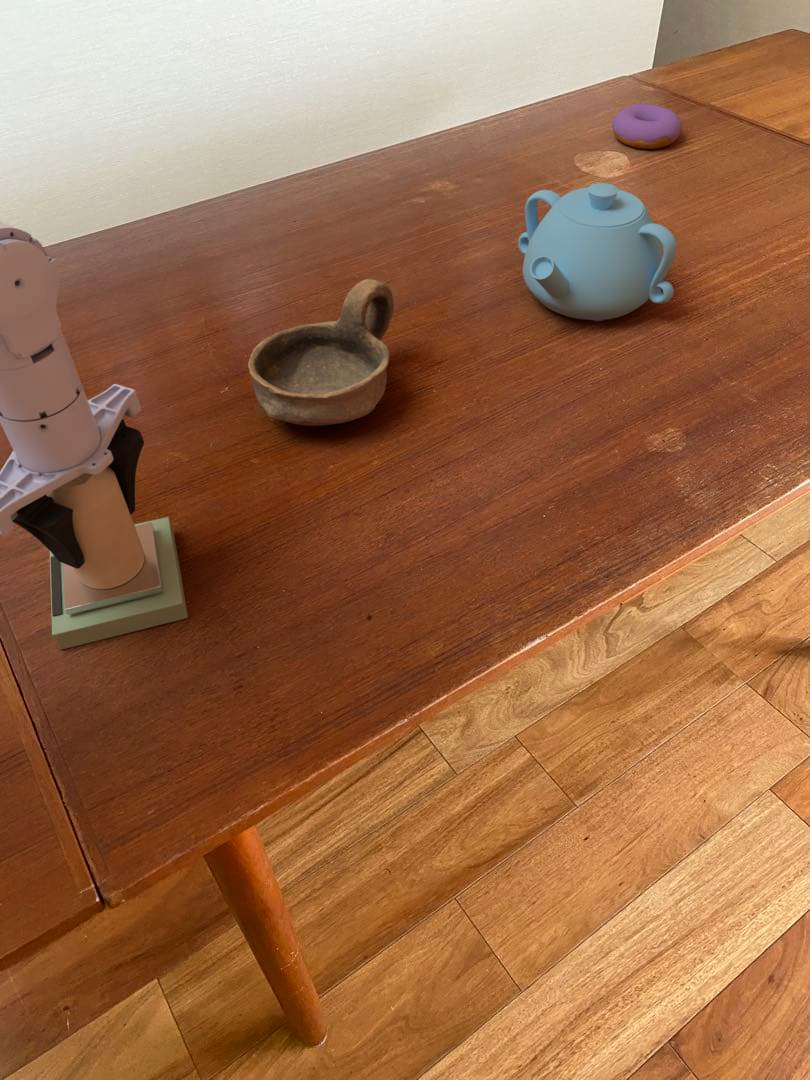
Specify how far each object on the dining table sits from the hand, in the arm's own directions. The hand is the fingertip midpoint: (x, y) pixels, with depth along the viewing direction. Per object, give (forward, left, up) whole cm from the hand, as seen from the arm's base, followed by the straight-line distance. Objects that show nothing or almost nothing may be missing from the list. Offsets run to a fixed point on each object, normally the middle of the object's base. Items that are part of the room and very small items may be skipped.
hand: (97, 535), depth 67 cm
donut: (+16, +102, -7) cm, 103 cm away
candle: (0, 0, -4) cm, 4 cm away
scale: (0, 0, -6) cm, 6 cm away
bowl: (+4, +30, -7) cm, 30 cm away
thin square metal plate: (0, 0, -4) cm, 4 cm away
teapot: (+21, +56, -7) cm, 60 cm away
